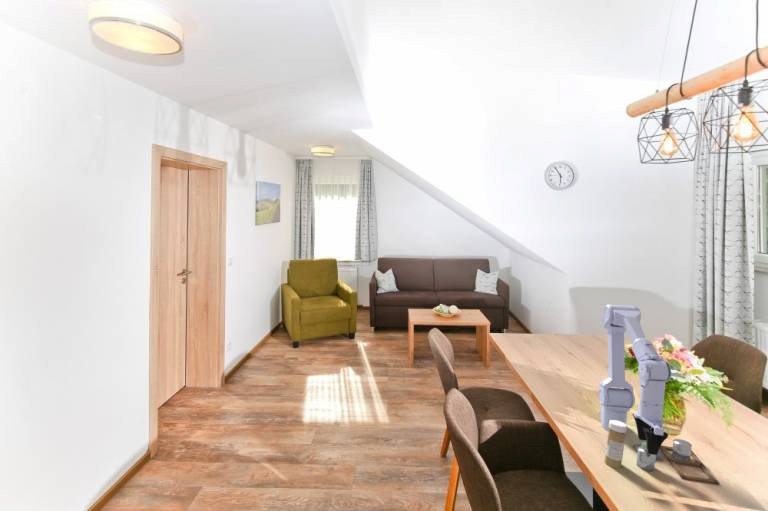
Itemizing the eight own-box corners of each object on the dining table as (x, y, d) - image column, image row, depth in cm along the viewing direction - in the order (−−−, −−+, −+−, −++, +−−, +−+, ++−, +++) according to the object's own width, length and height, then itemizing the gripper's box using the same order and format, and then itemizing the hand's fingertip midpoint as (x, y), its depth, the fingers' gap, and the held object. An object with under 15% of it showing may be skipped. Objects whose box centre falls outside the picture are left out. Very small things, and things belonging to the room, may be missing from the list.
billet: (633, 464, 123) (635, 444, 122) (651, 466, 122) (652, 447, 121) (639, 473, 119) (640, 453, 118) (656, 475, 117) (658, 455, 117)
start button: (639, 448, 129) (640, 439, 129) (651, 450, 128) (652, 441, 128) (643, 455, 126) (643, 445, 125) (655, 456, 125) (656, 447, 125)
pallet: (658, 451, 131) (658, 445, 131) (690, 456, 128) (691, 449, 128) (681, 483, 115) (681, 476, 115) (718, 489, 113) (719, 483, 112)
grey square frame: (632, 450, 131) (633, 443, 130) (654, 453, 129) (655, 446, 129) (639, 461, 125) (639, 453, 125) (661, 464, 123) (662, 456, 123)
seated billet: (669, 456, 128) (670, 437, 127) (685, 458, 127) (687, 440, 126) (675, 464, 124) (677, 445, 123) (692, 467, 123) (694, 448, 122)
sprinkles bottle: (605, 461, 124) (611, 418, 124) (622, 468, 121) (629, 423, 121) (601, 466, 121) (607, 421, 120) (618, 474, 118) (625, 427, 117)
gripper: (628, 389, 126) (624, 431, 127) (644, 410, 112) (640, 458, 113) (654, 392, 124) (650, 435, 126) (674, 414, 110) (669, 462, 112)
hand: (647, 446), depth 119 cm, fingers open, 7 cm apart
